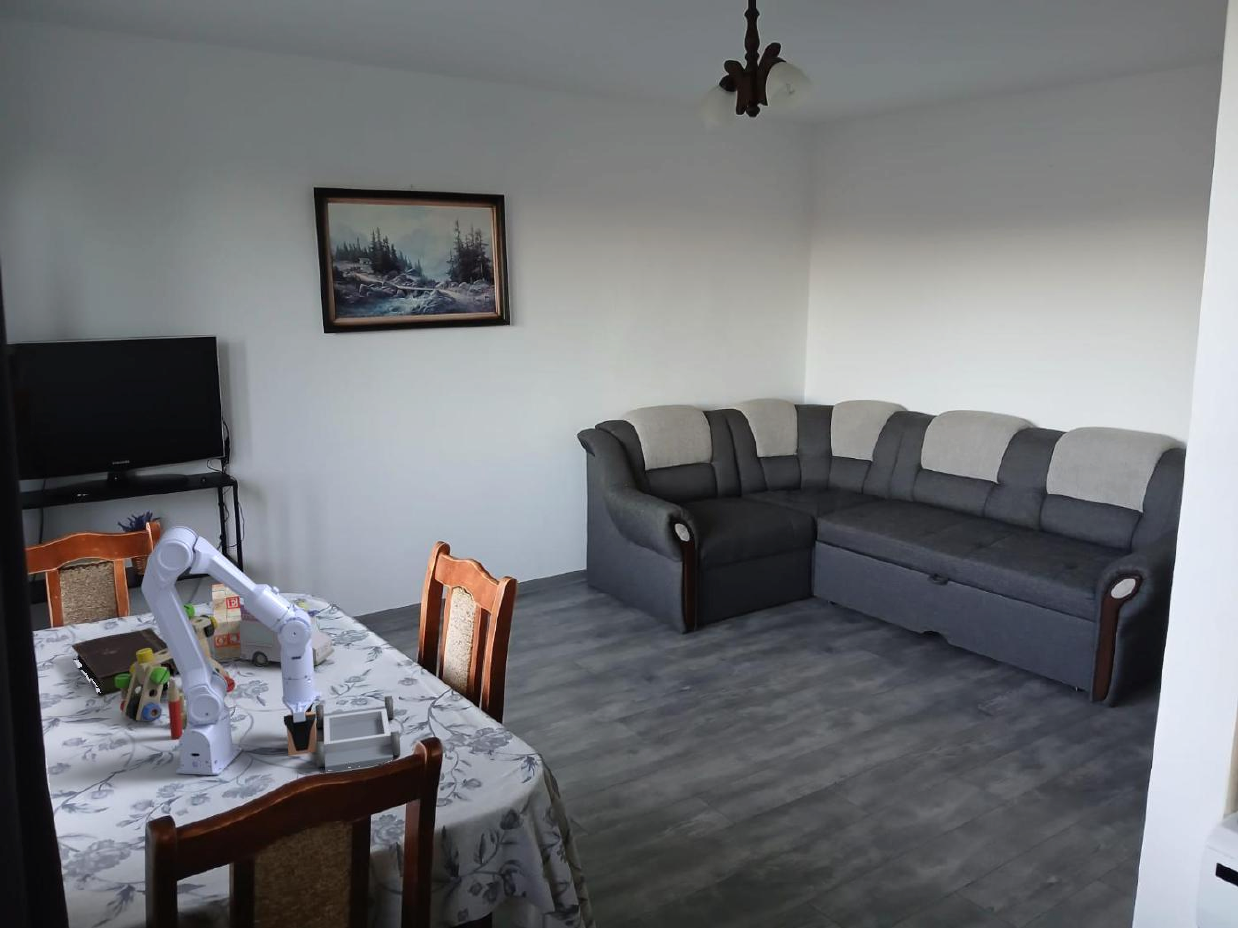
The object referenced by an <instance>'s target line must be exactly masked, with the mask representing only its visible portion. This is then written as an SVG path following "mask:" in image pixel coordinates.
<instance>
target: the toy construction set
mask: <svg viewBox="0 0 1238 928" xmlns="http://www.w3.org/2000/svg"><path fill="white" fill-rule="evenodd" d="M183 606H184V609H185V611H186V613H187V615H188V618H189V620H190V622H191V624H192V627H193V629H194V631H195V633H196V636H197V638H198V640H199V642H200V645H201V647H202V649H203V651H204V654H205V656H206V658H207V660H208V661H209V662H211V663H212V664H213V666H214V668H215V670H216V671H217V672H218V673H219V674H220V675H222V676H223V677H224V678H225V680H226V682H227V692H226V694H228V693H231V692H233V690H234V689H235V687H236V682H235V681H236V680H234V679H233V678H231V677H230V675H229V672H228V670H225V668H224V667H223V666H222V665H221V664H220V663H219V662H217V661H216V660H214V659H213V658H212V657H211V651H210V647H209V643H208V638H209V639H210V638H211V637H212V636H213V637H214V632H215V629H217V621H216V620H215V618H214V617H213V615H211V616H209V615H207V614H200V615H196V612H195V610H196V609H195V607H194V604H192V603H187V604H183ZM136 657H137V661H136V662H134V664H133V665H132V666H131V667H130V674H131V675H132V678H131V675H130V674H120V675H117V676H116V677H115V686H116V687H117V688H120V690H121V691H120V695H121V696H120V697H121V702H120V706H119V708H120V709H119V710H120V711H121V712H122V713H121V716H124V717H128V718H129V719H130V720H132V721H134V722H142V721H144V722H148V721H149V722H153V721H154V722H155V721H157V720H160V718H161V715H162V712H163V708H162V707H161V706H160V700H161V697H162V696H163V695H164V693H165V692H166V693H167V695H166V696H167V704H168V715H169V718H168V719H169V728H170V736H171V738H172V739H173V740H178V739H180V737H181V735H182V734H183V733H184V731H183V729H184V730H185V729H186V726H187V714H186V711H185V705H186V702H185V695H184V693H183V692H180V690H179V689H178V687H177V684H176V680H175V679H174V678H172V677H171V675H170V673H169V671H167V668H166V667H161V664H160V663H162V662H164V661H166V662H167V663H169V664H170V665H171V668H172V669H175V670H178V669H177V667H176V665H175V662H174V660H173V658H172V656H171V654H170V651H169V649H168V648H166V649H163V650H161V651H159V652H157V653H154V654H153V652H152V649H151V648H145V649H142V650H139V651H137V653H136ZM128 686H129V689H128ZM138 686H139V687H138ZM137 688H140V690H139V692H137V691H136V690H137Z"/></svg>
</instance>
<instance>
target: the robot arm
mask: <svg viewBox="0 0 1238 928" xmlns="http://www.w3.org/2000/svg"><path fill="white" fill-rule="evenodd" d="M188 568H190V570H189V573H188V574H190V575H197V574H198V575H199V574H208V575H210V577H212V578H214V579H215V580H216V581H217V582H219V584H223V585H225V586H226V587H227V588H229V589H230V590H232V591H233V592H234V593H236V594H237V595H239V596H240V599H241V598H242V600H243V605H244V609H245V610H247V611H248V612H249V613H250V614H252V615H253V616H254V617H255V618H257V619H258V620H259V621H261V622H262V623H263V624H264V625H266V626H267V627H268V628H269V629H271V630H273V631H276V632H278V635H277V637H278V640H279V642H280V643H281V653H280V656H281V662H280V668H281V683H282V697H281V699H282V704H284V706H285V707H286V708H287V709H288V710H289V711H290V714H293V715H289V714H288V715H289V716H287V715H284V716H283V724H284V726H285V727H286V729H287V728H288V730H289V731H290V733H291V736H292V739H293V743H294V746H295V749H296V751H303V750H308V747H309V741H310V733H311V729H312V726H313V724H314V722H316V713H315V714H311V715H306V713H305V712H312V709H313V705H314V703H315V701H316V700H317V699H321V698H322V697H323V696H322V695H323V693H322V692H323V691H321V690H318V691H317V690H316V683H315V668H314V666H315V665H313V650H312V647H311V645H312V643H311V639H310V638H311V635H312V631H311V619H310V616H309V615H308V613H307V612H308V611H307V612H306V611H305V609H303V608H300V607H298V606H297V605H296V604H297V603H294V604H292V603H291V602H289V601H288V600H287V599H286V598H285V597H283V596H282V595H281V594H280V593H279V592H280V589H279V588H278V587H276V586H275V585H273V586H269V584H265V583H263V584H260V583H259V584H256V583H255V582H254V581H253V580H252V579H251V578H249V577H248V576H247V575H246V574H245V573H244V572H242V571H241V570H240V569H239V568H238V567H237V566H236V565H235V564H234V563H233V562H231V560H229V559H228V558H227V557H225V556H224V555H223V554H222V553H221V552H220V551H219V550H218V549H217V548H215V546H213V545H212V544H211V542H209V541H208V540H207V539H205V538H204V537H202V536H200V535H199V536H198V535H197V533H196V532H195V531H194V530H193V529H191V528H189V527H187V526H182V525H176V526H172V527H171V528H169V529H167V530H165V531H164V533H163V534H162V536H161V537H160V538H159V539H158V541H157V542H156V543H155V545H154V548H153V550H152V552H151V553H150V554H149V556H148V557H147V561H146V568H145V570H144V576H143V578H142V583H141V592H142V595H143V596H144V598H145V601H146V603H147V605H148V607H149V610H150V611H151V614H152V615H153V618H154V620H155V623H156V624H157V627H158V629H159V632H160V634H161V636H162V638H163V641H164V642H165V643H166V645H167V647H168V649H169V651H170V654H171V656H172V658H173V660H174V662H175V665H176V667H177V669H178V674H179V676H180V679H181V680H180V681H181V688H182V693H183V695H184V699H185V711H186V714H187V726H186V728H185V729H184V731H183V734H182V735H181V737H180V738H179V740H178V750H179V759H180V766H179V767H178V769H176V773H177V774H183V775H184V774H187V775H204V776H205V775H207V776H208V775H209V776H212V775H213V776H219V775H220V774H221V773H222V772H223V771H224V770H225V769H226V768H227V766H229V765H230V763H231V762H232V761H234V760H235V758H236V757H237V756H238V755H239V754H240V753H241V752H242V751H243V748H242V747H241V746H233V740H232V739H233V738H232V727H231V712H230V707H229V706H228V705H227V704H226V703H225V698H226V695H227V693H226V692H227V682H226V680H225V678H224V677H223V676H222V675H220V674H219V673H218V672H217V671H216V670H215V668H214V666H213V664H212V663H211V662H209V661H208V660H207V658H206V656H205V654H204V651H203V649H202V647H201V645H200V642H199V640H198V638H197V636H196V633H195V631H194V629H193V627H192V624H191V622H190V620H189V618H188V615H187V613H186V611H185V609H184V604H183V602H182V600H181V597H180V595H179V594H178V592H177V589H176V586H175V583H176V582H177V580H178V578H179V576H180V575H182V574H183V573H184V572H185V571H186V570H187V569H188Z"/></svg>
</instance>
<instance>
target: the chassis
mask: <svg viewBox="0 0 1238 928" xmlns="http://www.w3.org/2000/svg"><path fill="white" fill-rule="evenodd" d="M393 700H394V699H393V695H388V696H387V695H386V696H384V706H374V707H366V708H359V709H352V710H343V711H337V712H336V711H335V712H328V713H325V710H324V704H316V705H315V714H316V719H315V722H316V729H319V728H320V729H321V728H323V738H324V739H323V741H317V742H316V752H315V755H316V767H317V768H320V767H322V768H323V767H325V769H324V770H325V772H327V773H333V772H339V771H347V770H355V769H359V768H366V767H367V768H368V767H373V766H372V765H375V766H380V765H379V764H381V765H384V764H383V763H386V762H388V761H391V760H393V761H394V757H398V756H401V740H400V733H399V730H397V731H396V730H395V731H391V730H390V724H389V719H394V716H395V715H394V701H393ZM359 766H360V767H359ZM348 767H351V768H348ZM328 770H332V771H328Z"/></svg>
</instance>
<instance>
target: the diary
mask: <svg viewBox="0 0 1238 928" xmlns="http://www.w3.org/2000/svg"><path fill="white" fill-rule="evenodd" d="M71 647H72V649H73V650H74V651H75V653H76V654H77V656H76V658H72V661H73V660H76V659H78V660H79V662H80V663H81V664H82V667H80V668H77V670H78V671H80V670H83V671H84V672H85V673H87V675H88V677H89V679H90V678H92V679H93V681H94V682H95V683H96V685H97V686H98V687H96V688H99V689H100V692H101V693H100V692H98V694H97V696H98V695H99V696H101V697H104V696H108V695H112V694H117V693H119V692H120V693H121V690H120V688H117V687H116V686H115V677H116V676H117V675H120V674H130V667H131V666H132V665H133V664H134V662H136V661H137V657H136V653H137V651H139V650H142V649H145V648H151V649H152V652H153V654H154V653H157V652H159V651H161V650H163V649H166V648H168V647H167V645H166V643H165V640H164V639H161V638H160V637H159V636H158V635H157V634H156V632H155V631H154V630H153V629H152V628H143V629H139V630H134V631H130V632H123V633H116V634H111V635H107V636H105V635H104V636H100V637H96V638H93V639H88V640H85V641H80V642H76V643H73V644H72V645H71ZM160 664H161V667H166V668H167V671H169V673H170V677H173V679H174V678H175V676H176V675H177V673H179V671H178V670H175V669H172V668H171V665H170V664H169V663H167V662H166V661H164V662H162V663H160ZM130 675H131V674H130ZM84 677H86V676H84ZM131 678H132V675H131ZM137 688H140V686H138V687H137ZM128 690H129V686H128ZM99 696H98V697H99Z"/></svg>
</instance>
